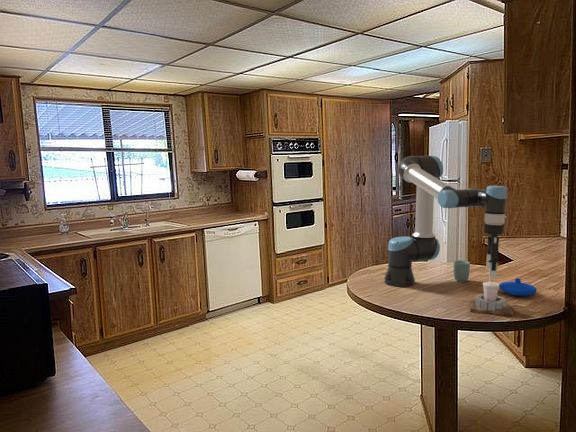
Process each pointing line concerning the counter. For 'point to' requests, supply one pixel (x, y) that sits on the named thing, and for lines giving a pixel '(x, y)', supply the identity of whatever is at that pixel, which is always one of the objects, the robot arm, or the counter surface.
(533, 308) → the counter surface
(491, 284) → the smoothie
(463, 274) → the cup
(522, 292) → the blue funnel
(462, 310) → the counter surface
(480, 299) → the ring
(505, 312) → the board
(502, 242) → the counter surface
